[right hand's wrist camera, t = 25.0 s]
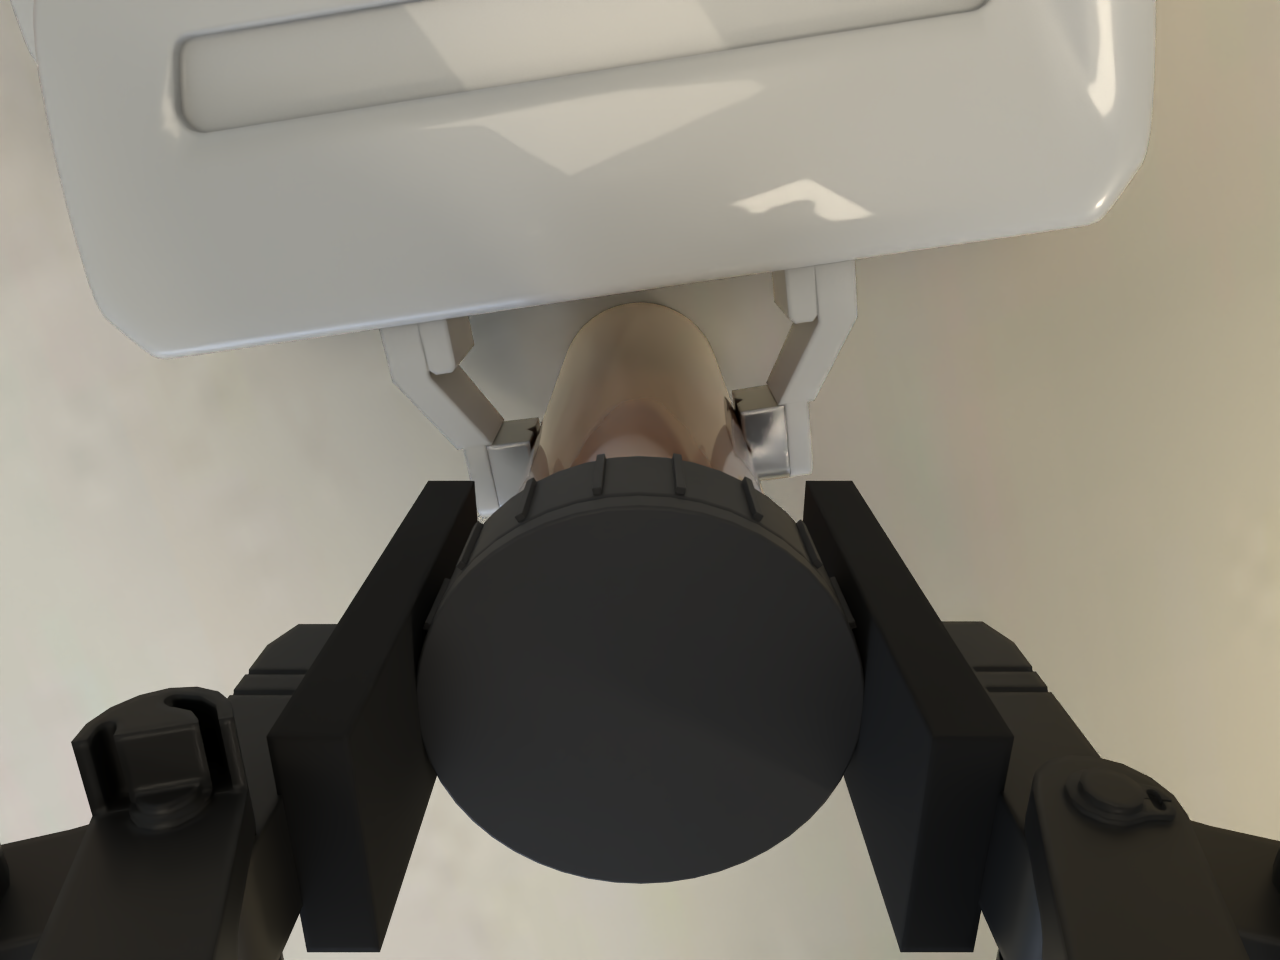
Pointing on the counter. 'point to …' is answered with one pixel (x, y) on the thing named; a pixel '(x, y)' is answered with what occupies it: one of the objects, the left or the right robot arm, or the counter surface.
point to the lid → (640, 673)
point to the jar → (640, 397)
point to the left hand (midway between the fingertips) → (647, 488)
